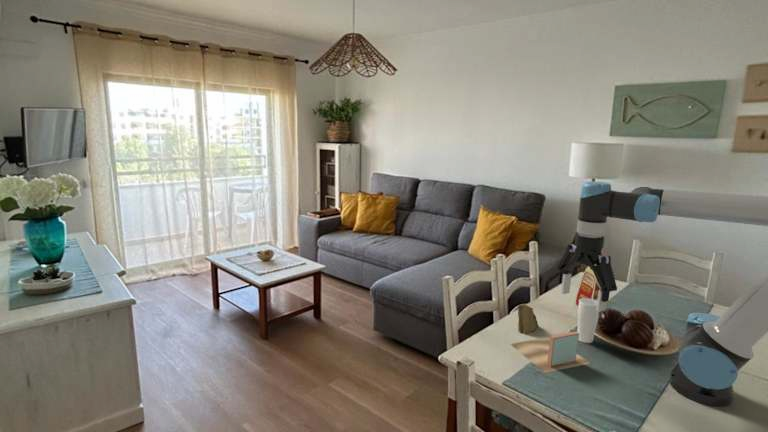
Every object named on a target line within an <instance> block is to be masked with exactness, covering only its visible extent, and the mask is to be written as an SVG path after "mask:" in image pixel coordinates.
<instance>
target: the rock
mask: <svg viewBox="0 0 768 432" xmlns="http://www.w3.org/2000/svg"><path fill="white" fill-rule="evenodd" d="M517 315H518V323H517V324H518V325H517V330H518V332H519V333H520V335H526V334H529V333H533V332H534V330H535V329H536V328H537V327H538V326H539V324H538V321H537V316H536V314H535V313H534V308H532V307H531V306H529V305H527V304H524V305H523V304H520V305H518V308H517Z"/></svg>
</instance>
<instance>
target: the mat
mask: <svg viewBox="0 0 768 432" xmlns="http://www.w3.org/2000/svg"><path fill="white" fill-rule="evenodd" d="M549 343H550V336H548V337H542V338H538V339H537V338H536V339H530V340H525V341H519V342H513V343H510V346H512V347H513V348H514V349H515V350H516V351H518V352H519V354H521V355H522V356H523V357H525V358H526V359H527V360H528V361H529V362H530V363H532V364H533V365H535V366H536V367H537V368H538V369H540V371H542V372H543V373H544V374H545V373H546V374H547V373H551V372H552V373H553V372H555V371H560V370H564V369H565V370H566V369H569V368H575V367H579V366H584V365H589V364H591V362H590V361H589V360H587V359H585V358H584V357H582V356H581V355H579V354H578V353H577V355H576V362H571V363H566V364H561V365H556V366H551V367H550V366H549V365H548V364H547V361H548V352H549Z"/></svg>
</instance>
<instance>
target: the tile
mask: <svg viewBox="0 0 768 432" xmlns="http://www.w3.org/2000/svg"><path fill="white" fill-rule="evenodd" d="M549 337H550V343H549V352H548V361H547V364H548V365H549V366H550V367H551V366H556V365H561V364H566V363H571V362H576V355H577V354H578V345H579V340H578V339H579V333H578V332H577V330H575V331H570V332H564V333H558V334H554V335H549Z"/></svg>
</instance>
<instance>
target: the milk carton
mask: <svg viewBox="0 0 768 432" xmlns="http://www.w3.org/2000/svg"><path fill="white" fill-rule="evenodd" d="M595 265H596V264H595ZM595 265H594V266H595ZM605 287H606V286H605ZM599 290H601V287H600V285H599V283H598V281H597V279H596V277H595V274H594V272H593V270H591V269H590V267H589V266H586V268H585V270H584V272H583V275H582V277H581V280H580V284H579V287H578V289H577V292H576V296H575V299H574V303H573V307H574V308H577V309H578V305H579V300H580V299H582V298H589V299H593V300H596V301H597V300H598V292H599Z"/></svg>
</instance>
